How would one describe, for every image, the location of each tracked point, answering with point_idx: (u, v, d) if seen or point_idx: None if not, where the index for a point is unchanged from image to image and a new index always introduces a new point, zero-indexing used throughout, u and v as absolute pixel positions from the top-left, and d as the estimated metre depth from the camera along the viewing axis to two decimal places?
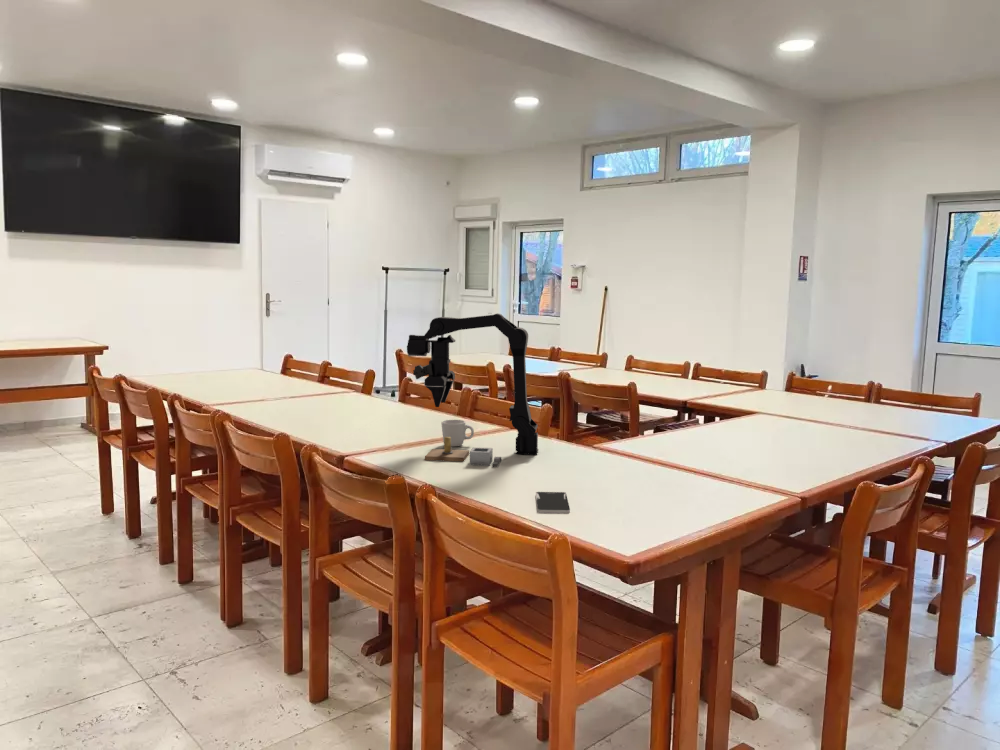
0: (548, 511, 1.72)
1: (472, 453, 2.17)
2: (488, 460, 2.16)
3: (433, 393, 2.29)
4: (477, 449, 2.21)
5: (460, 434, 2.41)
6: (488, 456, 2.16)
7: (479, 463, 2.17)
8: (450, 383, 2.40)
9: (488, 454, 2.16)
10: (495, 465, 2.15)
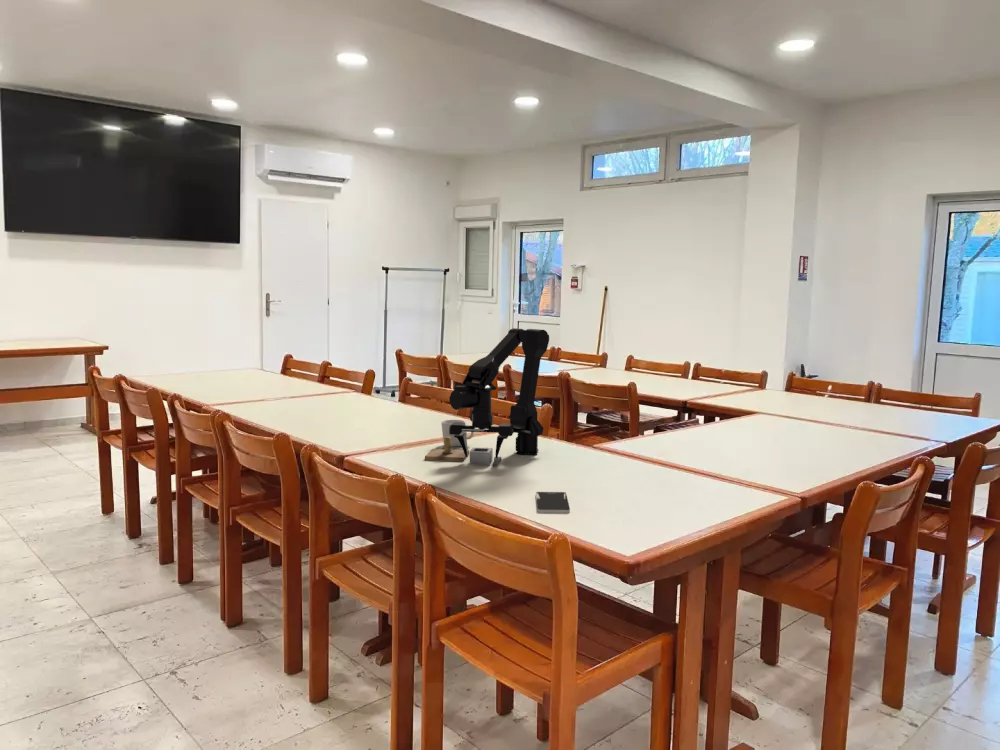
0: (548, 510, 1.72)
1: (472, 453, 2.17)
2: (488, 460, 2.16)
3: None
4: (477, 449, 2.21)
5: None
6: (488, 456, 2.16)
7: (479, 463, 2.17)
8: (497, 438, 2.16)
9: (488, 454, 2.16)
10: (495, 465, 2.15)
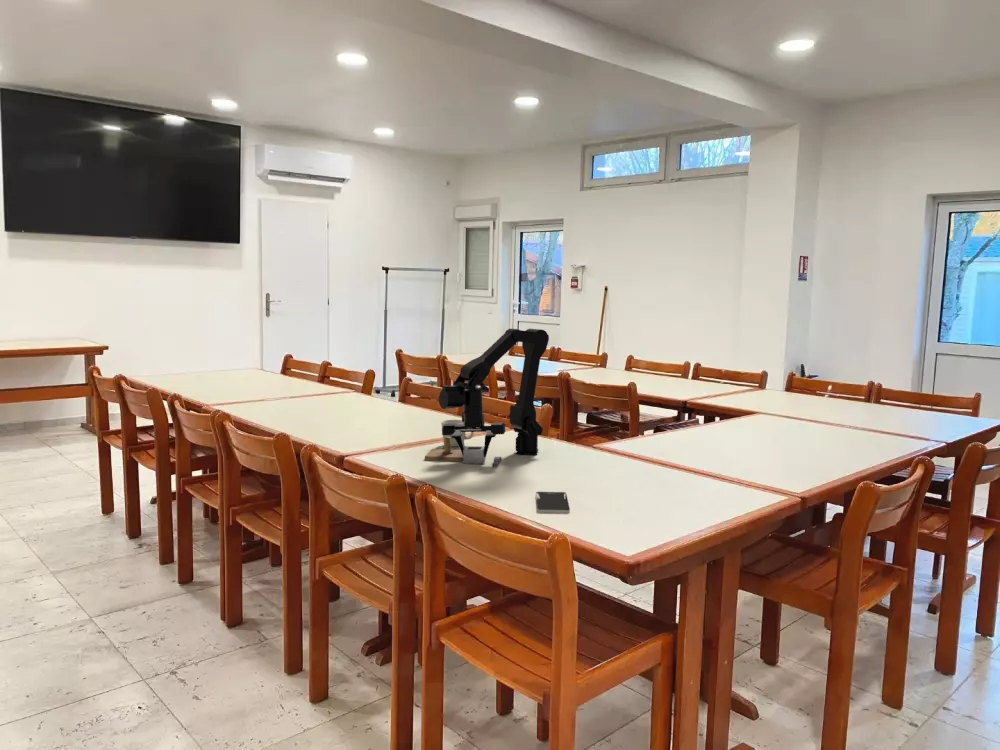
0: (548, 511, 1.72)
1: (466, 451, 2.18)
2: (482, 458, 2.18)
3: None
4: (470, 448, 2.23)
5: None
6: (482, 454, 2.18)
7: (473, 461, 2.18)
8: (485, 437, 2.19)
9: (481, 451, 2.18)
10: (495, 465, 2.15)
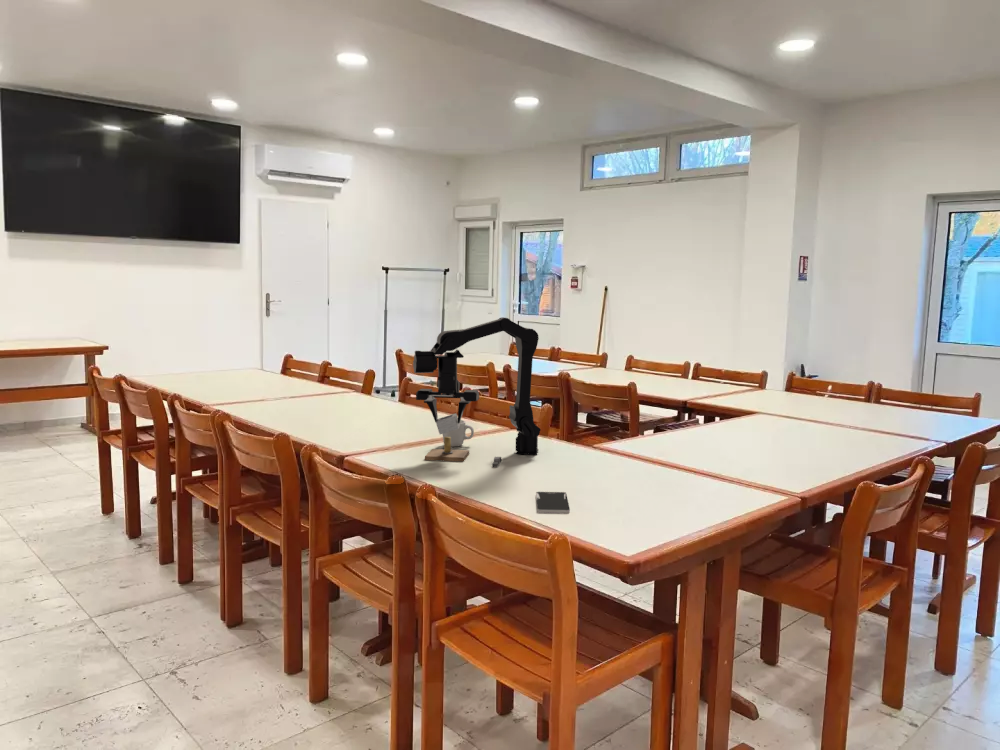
0: (548, 510, 1.72)
1: (438, 422, 2.22)
2: (455, 424, 2.22)
3: None
4: (442, 419, 2.27)
5: (460, 434, 2.41)
6: (454, 420, 2.21)
7: (448, 429, 2.22)
8: (459, 404, 2.22)
9: (453, 418, 2.21)
10: (495, 465, 2.15)
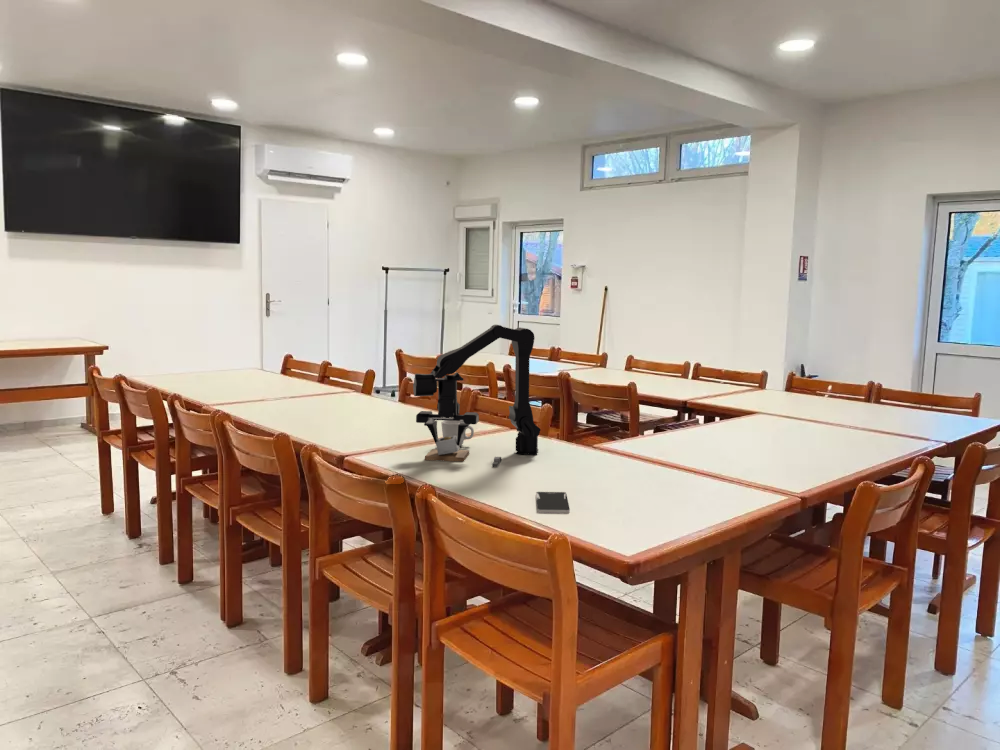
0: (548, 510, 1.72)
1: (438, 443, 2.23)
2: (455, 446, 2.23)
3: None
4: (442, 439, 2.28)
5: None
6: (454, 442, 2.22)
7: (447, 451, 2.23)
8: (458, 426, 2.23)
9: (453, 440, 2.22)
10: (495, 465, 2.15)
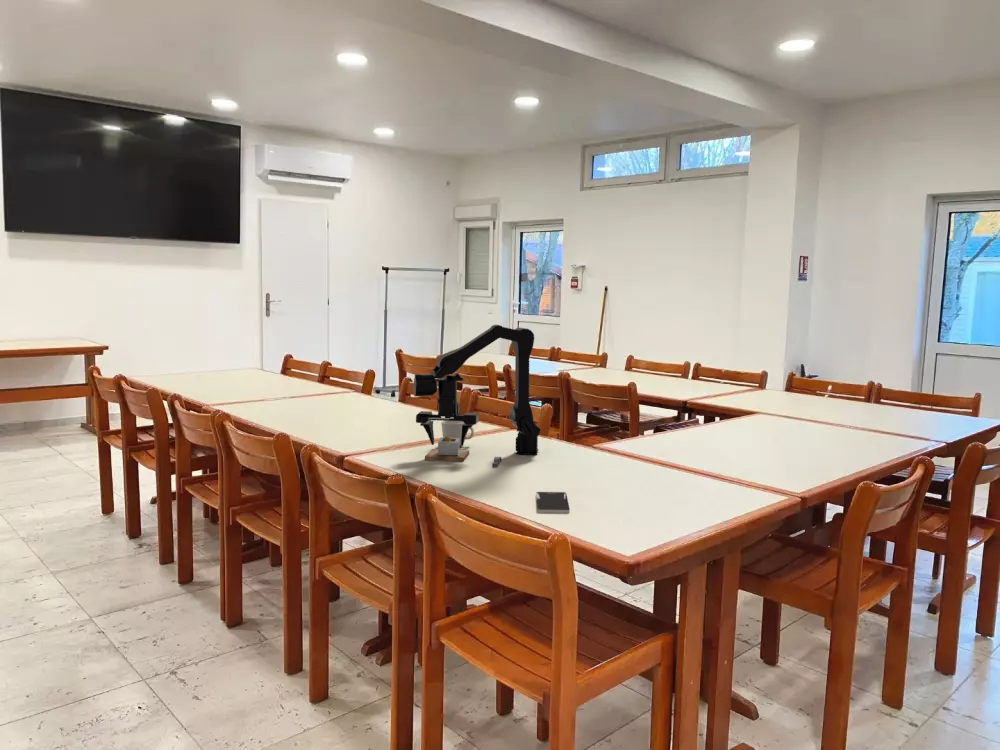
0: (548, 510, 1.72)
1: (440, 443, 2.23)
2: (456, 450, 2.23)
3: None
4: None
5: (460, 434, 2.41)
6: (456, 446, 2.22)
7: (447, 453, 2.23)
8: (462, 427, 2.23)
9: (456, 443, 2.22)
10: (495, 465, 2.15)
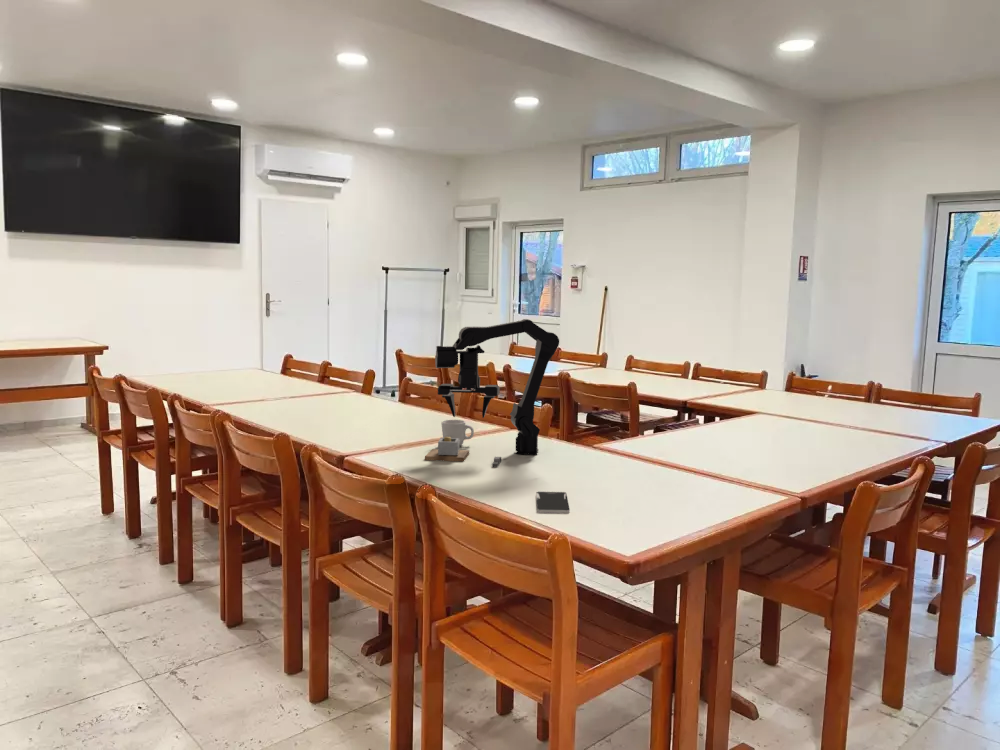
0: (548, 511, 1.72)
1: (440, 443, 2.23)
2: (456, 450, 2.23)
3: None
4: None
5: (460, 434, 2.41)
6: (456, 446, 2.22)
7: (447, 453, 2.23)
8: None
9: (456, 443, 2.22)
10: (495, 465, 2.15)
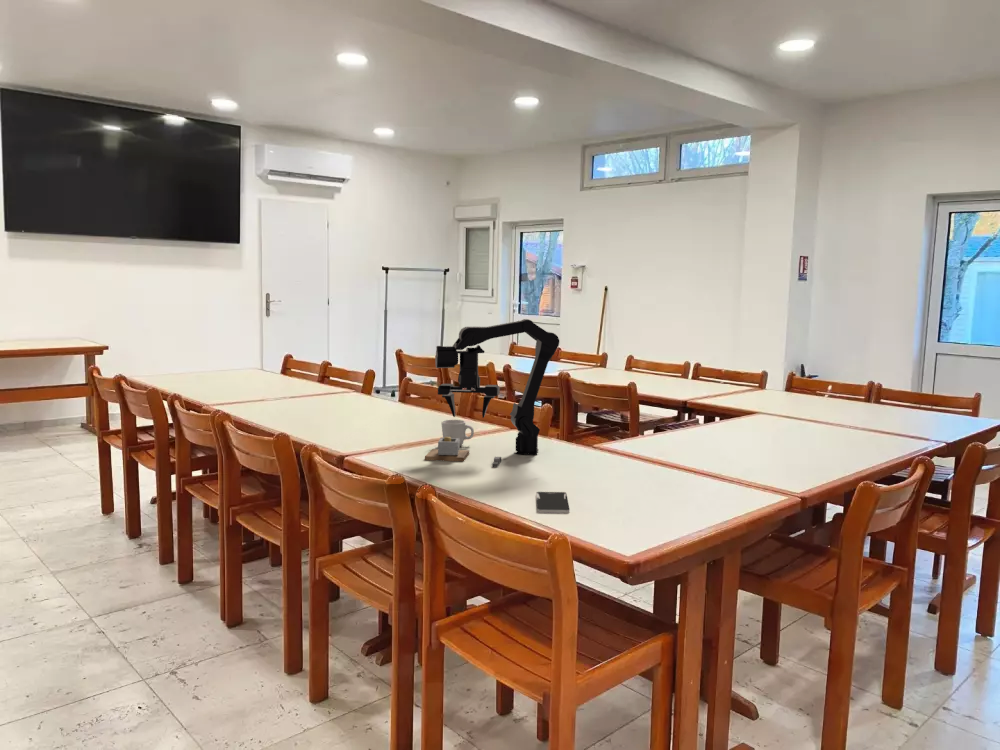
0: (548, 510, 1.72)
1: (440, 443, 2.23)
2: (456, 450, 2.23)
3: None
4: None
5: (460, 434, 2.41)
6: (456, 446, 2.22)
7: (447, 453, 2.23)
8: None
9: (456, 443, 2.22)
10: (495, 465, 2.15)
